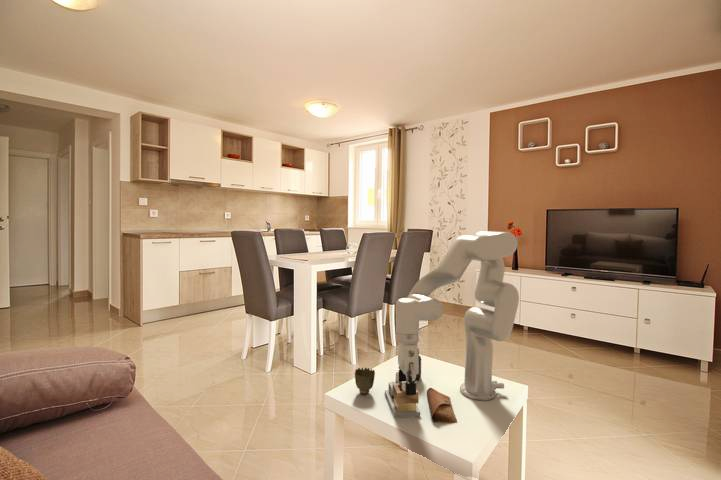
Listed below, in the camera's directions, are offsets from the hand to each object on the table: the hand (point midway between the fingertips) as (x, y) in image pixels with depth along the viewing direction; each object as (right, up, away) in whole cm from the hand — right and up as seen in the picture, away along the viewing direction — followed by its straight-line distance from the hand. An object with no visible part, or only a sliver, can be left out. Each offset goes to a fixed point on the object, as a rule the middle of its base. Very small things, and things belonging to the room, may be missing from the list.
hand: (406, 387), depth 117 cm
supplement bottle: (+6, -7, +26) cm, 28 cm away
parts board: (-1, -8, +5) cm, 9 cm away
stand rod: (-2, -6, +9) cm, 11 cm away
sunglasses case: (+12, -9, +3) cm, 15 cm away
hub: (-1, -6, 0) cm, 6 cm away
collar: (-1, -3, 0) cm, 3 cm away
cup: (-14, -7, +13) cm, 20 cm away
